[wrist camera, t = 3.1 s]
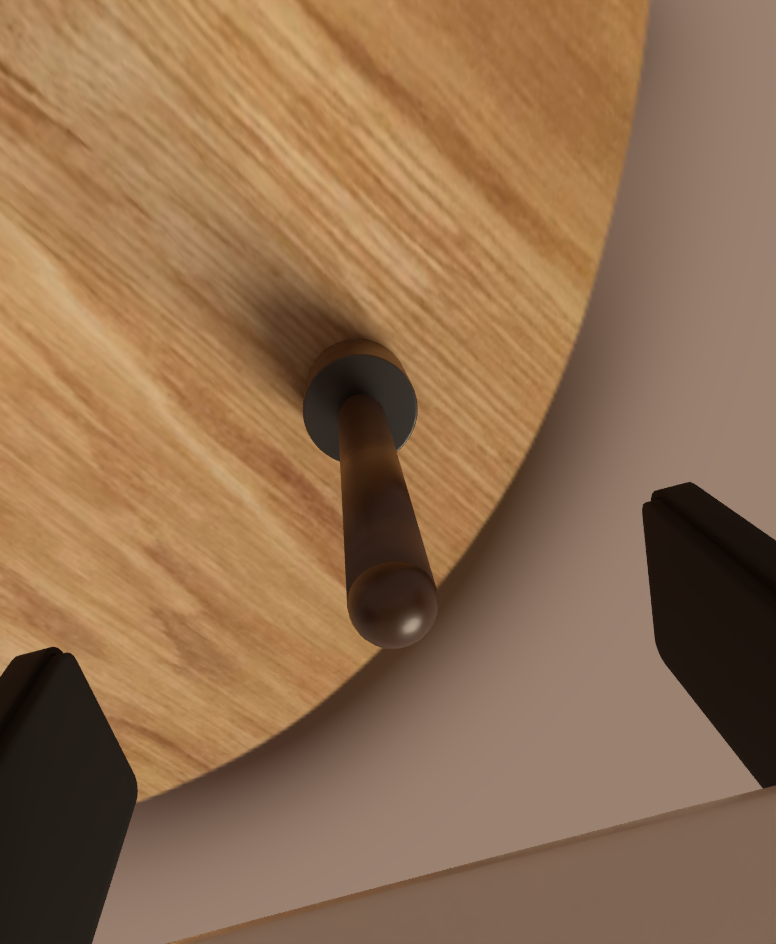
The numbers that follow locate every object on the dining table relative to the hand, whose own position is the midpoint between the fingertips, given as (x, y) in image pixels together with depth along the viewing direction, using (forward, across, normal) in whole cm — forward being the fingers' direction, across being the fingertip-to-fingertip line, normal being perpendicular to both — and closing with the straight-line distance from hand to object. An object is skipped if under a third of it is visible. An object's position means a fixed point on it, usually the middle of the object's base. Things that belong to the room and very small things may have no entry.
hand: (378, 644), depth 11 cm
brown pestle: (+16, -1, 0) cm, 16 cm away
